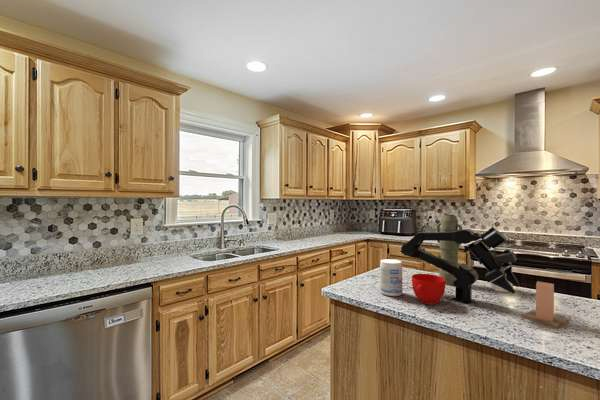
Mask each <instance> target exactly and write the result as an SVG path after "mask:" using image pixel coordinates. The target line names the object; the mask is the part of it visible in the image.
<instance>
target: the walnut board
mask: <svg viewBox="0 0 600 400" xmlns="http://www.w3.org/2000/svg"><path fill="white" fill-rule="evenodd" d="M520 318H522V319H526V320H529V321H532V322H535V323H539V324H542V325H544V326H548V327H551V328H554V329H559V328H561V327H562V326H564V325H566V324H568V323H570V320H569V319H568V318H564V317H560V316H557V315H554V318H553V321H549V320H545V319H541V318H536V309H533V310H531V311H527V312H526V313H523V314H521V317H520Z"/></svg>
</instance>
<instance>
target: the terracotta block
mask: <svg viewBox="0 0 600 400" xmlns="http://www.w3.org/2000/svg"><path fill="white" fill-rule="evenodd" d="M554 299H555V283H550V282H544V281H538V280H537V281H536V283H535V310H536V318H541V319H545V320H549V321H553V318H554V316H555V313H554V312H555V310H554V309H555V308H554V307H555V304H554V303H555V300H554Z"/></svg>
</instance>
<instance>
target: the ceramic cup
mask: <svg viewBox="0 0 600 400" xmlns="http://www.w3.org/2000/svg"><path fill="white" fill-rule="evenodd" d="M445 284H446V280H445V279H444V278H443V277H440V276H439V275H436V274H431V273H415V274H412V275H411V285H412V291H413V293H414V295H415V296H416V297H417V299H418V300H419V302H420V303H422V304H426V305H437V304H438V303H439V302H440V301H441V300H442V298H443V296H444V294H445V291H446V285H445Z"/></svg>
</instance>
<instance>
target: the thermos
mask: <svg viewBox="0 0 600 400" xmlns="http://www.w3.org/2000/svg"><path fill="white" fill-rule="evenodd" d="M440 230H441V231H440ZM457 230H463V226H462V225H461V224H459V221H458V217H457V215H455V214H443V215H442V217H441V220H440V222H439V223H438V224H437V226H436V232H452V231H457ZM436 243H437V244H439V249H440V258H442V259H444V260H446V261H448V262H450V263H453V264H455V265H458V266H459V250H460V246H461V245H462V244H463V243H457V242H453V241H437V242H436ZM438 269H439V271H438V272H439V274H438V276H440V277H443V278H444V279H445V280H446V284H445V286H453V287H455V286H454V283H453V282H454V281H455V280H457V279H456V278H455V277H454V276H453V275H452V274H450V273H448V272H446V271H444V270H442V269H440V268H438Z"/></svg>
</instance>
